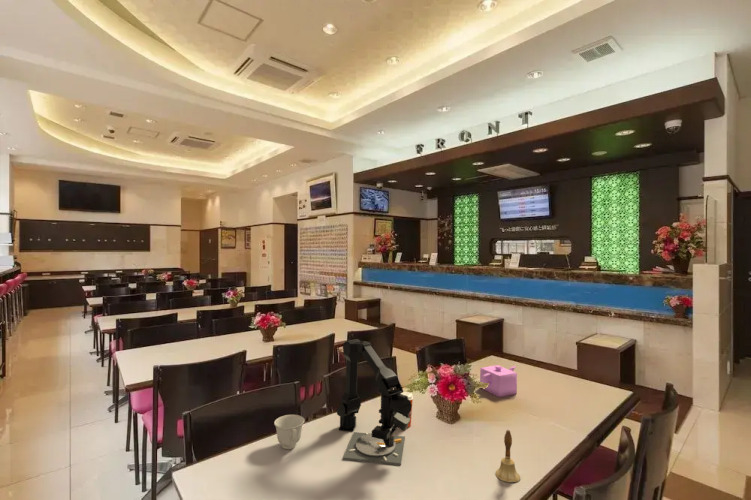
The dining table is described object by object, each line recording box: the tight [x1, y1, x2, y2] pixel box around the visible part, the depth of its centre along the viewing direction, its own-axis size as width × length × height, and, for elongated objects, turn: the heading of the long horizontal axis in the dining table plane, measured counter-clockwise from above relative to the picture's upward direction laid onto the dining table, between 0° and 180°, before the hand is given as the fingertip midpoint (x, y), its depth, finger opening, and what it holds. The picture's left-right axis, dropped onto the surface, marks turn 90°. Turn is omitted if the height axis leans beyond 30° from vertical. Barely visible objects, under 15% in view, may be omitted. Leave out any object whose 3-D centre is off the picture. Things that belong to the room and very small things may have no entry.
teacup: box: [273, 414, 305, 450], centre depth 151 cm, size 12×15×10 cm
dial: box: [356, 433, 396, 457], centre depth 151 cm, size 16×16×4 cm
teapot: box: [479, 364, 518, 398], centre depth 214 cm, size 15×25×14 cm, turn 116°
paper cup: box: [401, 391, 414, 429], centre depth 171 cm, size 8×8×14 cm
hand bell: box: [495, 429, 521, 483], centre depth 133 cm, size 8×8×16 cm
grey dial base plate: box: [342, 431, 406, 466], centre depth 151 cm, size 22×20×2 cm
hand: (387, 446), depth 147 cm, fingers closed
